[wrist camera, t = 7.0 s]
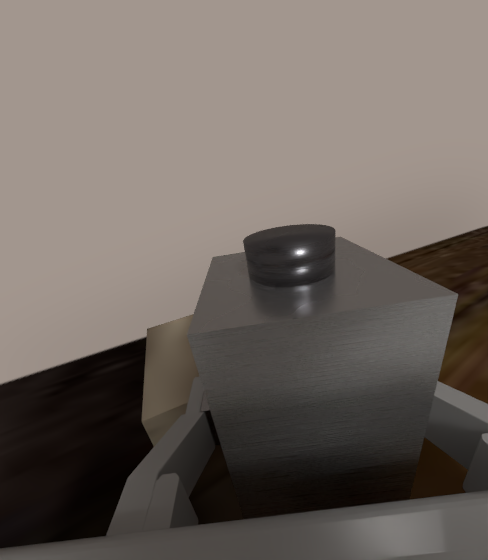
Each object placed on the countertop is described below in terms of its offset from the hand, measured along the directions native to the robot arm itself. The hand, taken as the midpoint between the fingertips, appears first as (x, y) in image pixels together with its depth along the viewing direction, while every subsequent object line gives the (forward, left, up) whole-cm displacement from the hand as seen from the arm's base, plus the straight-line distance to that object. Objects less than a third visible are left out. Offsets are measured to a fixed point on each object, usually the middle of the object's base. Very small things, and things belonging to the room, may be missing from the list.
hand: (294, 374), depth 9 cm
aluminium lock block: (0, -1, -7) cm, 7 cm away
